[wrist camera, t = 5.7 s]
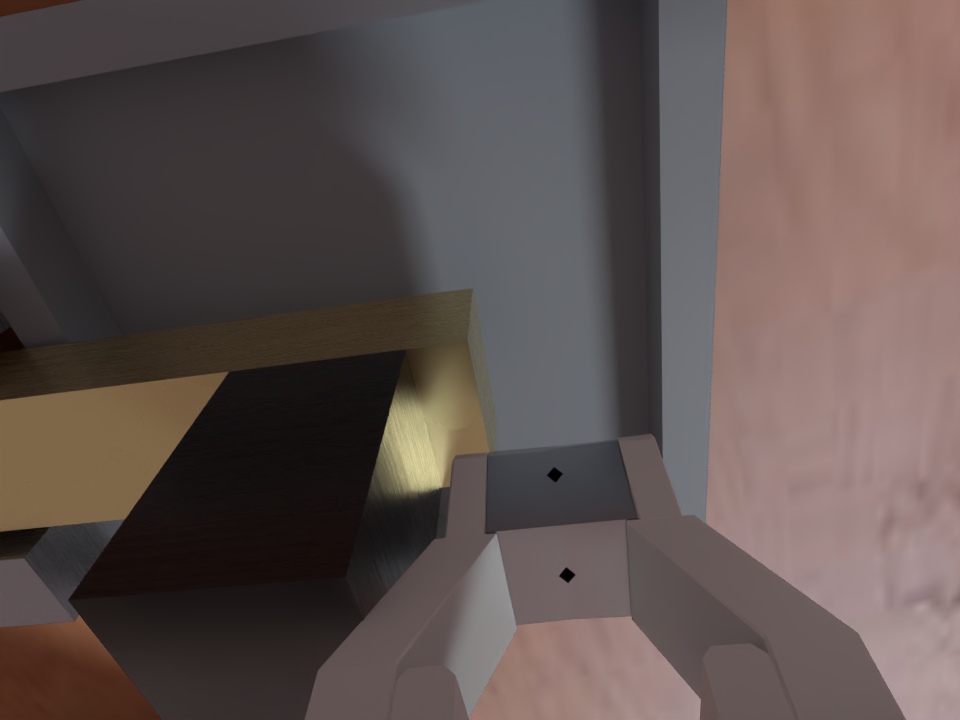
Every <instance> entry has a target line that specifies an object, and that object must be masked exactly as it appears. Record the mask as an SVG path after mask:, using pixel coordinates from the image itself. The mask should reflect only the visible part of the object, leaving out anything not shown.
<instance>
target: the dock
mask: <svg viewBox="0 0 960 720" xmlns="http://www.w3.org/2000/svg"><path fill="white" fill-rule="evenodd" d="M726 18H727V0H81V1H76V2H71V3H66V4H61V5H56V6H51V7H46V8H41V9H36V10H31V11H27V12H22V13H17V14H12V15H7V16H2V17H0V310H1V311H2V313H3V314H4V316H5V318H6V319H7V321H8V322H9V324H10V325H11V327H12V329H13V330H14V332H15V333H16V335H17V336H18V338H19V340H20V341H21V343H22V344H23V346H24V347H25V349H27V348H34V347H42V346H49V345H56V344H64V343H71V342H79V341H86V340H93V339H101V338H108V337H115V336H123V335H130V334H138V333H145V332H152V331H160V330H167V329H174V328H182V327H189V326H197V325H204V324H211V323H219V322H226V321H233V320H241V319H248V318H255V317H263V316H270V315H278V314H285V313H292V312H300V311H307V310H314V309H322V308H329V307H337V306H344V305H351V304H359V303H366V302H373V301H381V300H388V299H395V298H403V297H410V296H418V295H425V294H432V293H440V292H447V291H454V290H462V289H469V288H473V292H474V298H475V303H476V308H477V314H478V319H479V325H480V330H481V336H482V341H483V346H484V352H485V357H486V363H487V368H488V374H489V379H490V384H491V390H492V395H493V401H494V406H495V412H496V451H502V450H514V449H525V448H537V447H548V446H560V445H569V444H578V443H586V442H595V441H604V440H612V439H615V440H616V439H617V438H621V437H629V436H637V435H644V434H652V435H653V436H654V437H655V439H656V442H657V445H658V448H659V451H660V454H661V456H662V459H663V462H664V465H665V468H666V471H667V474H668V476H669V479H670V482H671V485H672V488H673V491H674V494H675V496H676V499H677V502H678V505H679V508H680V511H681V514H682V516H684V515H695V516H696V517H697V518H699V519H700V520H701V521H703V522H704V523H706V501H707V477H708V453H709V428H710V404H711V380H712V356H713V332H714V308H715V284H716V259H717V235H718V211H719V187H720V163H721V139H722V115H723V90H724V66H725V42H726ZM449 488H450V487H442V492H441V501H440V509H439V517H438V526H437V534H436V539H441V538H444V536H445V527H446V517H447V507H448V498H449Z"/></svg>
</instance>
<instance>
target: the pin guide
mask: <svg viewBox="0 0 960 720" xmlns="http://www.w3.org/2000/svg"><path fill="white" fill-rule="evenodd" d="M9 327H11V325H10V324H9V322H8V321H7V319H6V318H5V316H4V314H3V313H2V311H1V310H0V334H1V333H2V332H4V331H5V330H7V329H8V328H9ZM124 520H125V519H121V520H111V521H101V522H91V523H81V524H71V525H61V526H51V527H41V528H31V529H21V530H11V531H1V532H0V627H11V626H23V625H36V624H48V623H61V622H73V621H75V620H76V619H77V617H78V616H79V614H78V613H77V611H76V610H75V609H74V607H73V606H72V605H71V604H70V602H69V601H68V599H69V598H70V596H71V595H72V594H73V592H74V591H75V589H76V588H77V587H78V585H79V584H80V582H81V581H82V579H83V578H84V577H85V575H86V574H87V572H88V571H89V570H90V568H91V567H92V565H93V564H94V562H95V561H96V560H97V558H98V557H99V555H100V554H101V553H102V551H103V550H104V548H105V547H106V545H107V544H108V543H109V541H110V540H111V538H112V537H113V536H114V534H115V533H116V531H117V530H118V528H119V527H120V526H121V524H122V523H123V521H124Z"/></svg>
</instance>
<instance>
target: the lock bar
mask: <svg viewBox="0 0 960 720" xmlns="http://www.w3.org/2000/svg"><path fill="white" fill-rule="evenodd" d="M491 451H496V412H495V406H494V401H493V395H492V390H491V384H490V379H489V374H488V368H487V363H486V357H485V352H484V346H483V341H482V336H481V330H480V325H479V319H478V314H477V308H476V303H475V298H474V292H473V288H469V289H462V290H454V291H447V292H440V293H432V294H425V295H418V296H410V297H403V298H395V299H388V300H381V301H373V302H366V303H359V304H351V305H344V306H337V307H329V308H322V309H314V310H307V311H300V312H292V313H285V314H278V315H270V316H263V317H255V318H248V319H241V320H233V321H226V322H219V323H211V324H204V325H197V326H189V327H182V328H174V329H167V330H160V331H152V332H145V333H138V334H130V335H123V336H115V337H108V338H101V339H93V340H86V341H79V342H71V343H64V344H56V345H49V346H42V347H34V348H27V349H20V350H12V351H5V352H0V532H1V531H11V530H21V529H31V528H41V527H51V526H61V525H71V524H81V523H91V522H101V521H111V520H121V519H125V520H124V521H123V523H122V524H121V526H120V527H119V528H118V530H117V531H116V533H115V534H114V536H113V537H112V538H111V540H110V541H109V543H108V544H107V545H106V547H105V548H104V550H103V551H102V553H101V554H100V555H99V557H98V558H97V560H96V561H95V562H94V564H93V565H92V567H91V568H90V570H89V571H88V572H87V574H86V575H85V577H84V578H83V579H82V581H81V582H80V584H79V585H78V587H77V588H76V589H75V591H74V592H73V594H72V595H71V596H70V598H69V599H68V601H69V602H70V604H71V605H72V606H73V607H74V609H75V610H76V611H77V613H78V614H79V615H80V616H81V618H82V619H83V620H84V621H85V623H86V624H87V625H88V626H89V628H90V629H91V630H92V632H93V633H94V634H95V635H96V637H97V638H98V639H99V640H100V642H101V643H102V644H103V645H104V647H105V648H106V649H107V651H108V652H109V653H110V654H111V656H112V657H113V658H114V659H115V661H116V662H117V663H118V664H119V666H120V667H121V668H122V670H123V671H124V672H125V673H126V675H127V676H128V677H129V678H130V680H131V681H132V682H133V683H134V685H135V686H136V687H137V688H138V690H139V691H140V692H141V694H142V695H143V696H144V697H145V699H146V700H147V701H148V702H149V704H150V705H151V706H152V707H153V709H154V710H155V711H156V713H157V714H158V715H159V716H160V718H161V719H162V720H305V716H306V713H307V709H308V705H309V702H310V698H311V694H312V691H313V687H314V683H315V680H316V676H317V672H318V670H319V669H320V668H321V667H322V665H323V664H324V663H325V662H326V661H327V660H328V659H329V657H330V656H331V655H332V654H333V653H334V652H335V651H336V650H337V648H338V647H339V646H340V645H341V644H342V643H343V642H344V641H345V639H346V638H347V637H348V636H349V635H350V634H351V633H352V631H353V630H354V629H355V628H356V627H357V626H358V625H359V624H360V622H361V621H364V619H365V617H366V616H367V615H368V613H369V612H370V611H371V610H372V609H373V608H374V607H375V605H376V604H377V603H378V602H379V601H380V600H381V599H382V598H383V596H384V595H385V594H386V593H387V592H388V591H389V590H390V589H391V587H392V586H393V585H394V584H395V583H396V582H397V581H398V579H399V578H400V577H401V576H402V575H403V574H404V573H405V572H406V570H407V569H408V568H409V567H410V566H411V565H412V564H413V563H414V561H415V560H416V559H417V558H418V557H419V556H420V555H421V553H422V552H423V551H424V550H425V549H426V548H427V547H428V546H429V544H430V543H431V542H432V541H433V540H434V539H436V534H437V526H438V517H439V509H440V501H441V492H442V487H450V478H451V469H452V462H453V460H454V458H455V456H456V455H463V454H474V453H485V452H487V453H489V452H491Z"/></svg>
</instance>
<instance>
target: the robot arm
mask: <svg viewBox="0 0 960 720" xmlns="http://www.w3.org/2000/svg"><path fill="white" fill-rule="evenodd" d="M626 616H632V620H633V621H634V622H635V623H636V625H637V626H638V627H639V628H640V629H641V630H642V631H643V633H644V634H645V635H646V636H647V637H648V638H649V640H650V641H651V642H652V643H653V644H654V645H655V647H656V648H657V649H658V650H659V651H660V652H661V654H662V655H663V656H664V657H665V658H666V659H667V660H668V662H669V663H670V664H671V665H672V666H673V667H674V669H675V670H676V671H677V672H678V673H679V674H680V676H681V677H682V678H683V679H684V680H685V681H686V683H687V684H688V685H689V686H690V687H691V688H692V689H693V691H694V692H695V693H696V694H697V695H698V696H699V698H700V699H701V709H700V720H906V719H905V717H904V715H903V713H902V712H901V710H900V708H899V706H898V704H897V703H896V701H895V699H894V697H893V695H892V694H891V692H890V690H889V688H888V686H887V685H886V683H885V681H884V679H883V677H882V676H881V674H880V672H879V670H878V668H877V667H876V665H875V663H874V661H873V659H872V657H871V656H870V654H869V652H868V650H867V648H866V647H865V645H864V643H863V641H862V639H861V638H860V636H859V634H858V633H857V632H856V631H854V630H853V629H852V628H850V627H849V626H847V625H846V624H845V623H843V622H842V621H841V620H839V619H838V618H836V617H835V616H834V615H832V614H831V613H829V612H828V611H827V610H825V609H824V608H822V607H821V606H820V605H818V604H817V603H815V602H814V601H813V600H811V599H810V598H809V597H807V596H806V595H804V594H803V593H802V592H800V591H799V590H797V589H796V588H795V587H793V586H792V585H790V584H789V583H788V582H786V581H785V580H784V579H782V578H781V577H779V576H778V575H777V574H775V573H774V572H772V571H771V570H770V569H768V568H767V567H765V566H764V565H763V564H761V563H760V562H758V561H757V560H756V559H754V558H753V557H752V556H750V555H749V554H747V553H746V552H745V551H743V550H742V549H740V548H739V547H738V546H736V545H735V544H733V543H732V542H731V541H729V540H728V539H727V538H725V537H724V536H722V535H721V534H720V533H718V532H717V531H715V530H714V529H713V528H711V527H710V526H708V525H707V524H706V523H704V522H703V521H701V520H700V519H699V518H697V517H696V516H695V515H684V516H682V514H681V511H680V508H679V505H678V502H677V499H676V496H675V494H674V491H673V488H672V485H671V482H670V479H669V476H668V474H667V471H666V468H665V465H664V462H663V459H662V456H661V454H660V451H659V448H658V445H657V442H656V439H655V437H654V436H653V435H652V434H644V435H637V436H629V437H621V438H617V439H616V440H615V439H612V440H604V441H595V442H586V443H578V444H569V445H560V446H548V447H537V448H525V449H514V450H502V451H491V452H489V453H487V452H485V453H474V454H463V455H456V456H455V458H454V460H453V462H452V469H451V478H450V488H449V498H448V507H447V517H446V527H445V536H444V538H441V539H434V540H433V541H432V542H431V543H430V544H429V546H428V547H427V548H426V549H425V550H424V551H423V552H422V553H421V555H420V556H419V557H418V558H417V559H416V560H415V561H414V563H413V564H412V565H411V566H410V567H409V568H408V569H407V570H406V572H405V573H404V574H403V575H402V576H401V577H400V578H399V579H398V581H397V582H396V583H395V584H394V585H393V586H392V587H391V589H390V590H389V591H388V592H387V593H386V594H385V595H384V596H383V598H382V599H381V600H380V601H379V602H378V603H377V604H376V605H375V607H374V608H373V609H372V610H371V611H370V612H369V613H368V615H367V616H366V617H365V619H364V621H361V622H360V624H359V625H358V626H357V627H356V628H355V629H354V630H353V631H352V633H351V634H350V635H349V636H348V637H347V638H346V639H345V641H344V642H343V643H342V644H341V645H340V646H339V647H338V648H337V650H336V651H335V652H334V653H333V654H332V655H331V656H330V657H329V659H328V660H327V661H326V662H325V663H324V664H323V665H322V667H321V668H320V669H319V670H318V672H317V676H316V680H315V683H314V687H313V691H312V694H311V698H310V702H309V705H308V709H307V713H306V716H305V720H469V716H470V714H471V712H472V711H473V709H474V707H475V705H476V703H477V701H478V700H479V698H480V696H481V694H482V692H483V690H484V689H485V687H486V685H487V683H488V681H489V679H490V678H491V676H492V674H493V672H494V670H495V668H496V666H497V665H498V663H499V661H500V659H501V657H502V655H503V654H504V652H505V650H506V648H507V646H508V644H509V643H510V641H511V639H512V637H513V635H514V633H515V632H516V630H517V627H516V625H523V624H532V623H542V622H551V621H560V620H570V619H587V618H606V617H626Z"/></svg>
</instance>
